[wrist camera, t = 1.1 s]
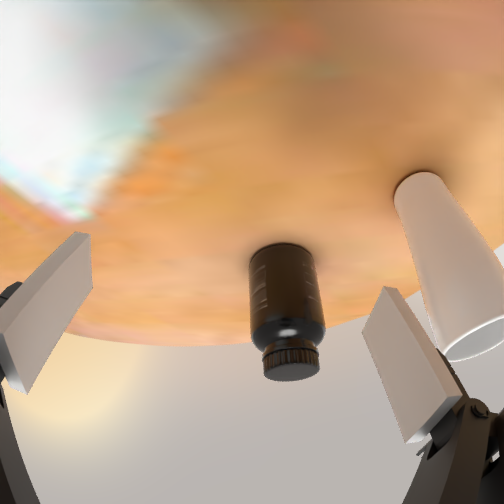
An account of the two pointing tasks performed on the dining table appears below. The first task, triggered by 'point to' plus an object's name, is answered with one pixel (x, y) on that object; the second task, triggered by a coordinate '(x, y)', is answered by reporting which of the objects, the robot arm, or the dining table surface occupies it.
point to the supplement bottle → (286, 312)
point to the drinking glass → (452, 268)
